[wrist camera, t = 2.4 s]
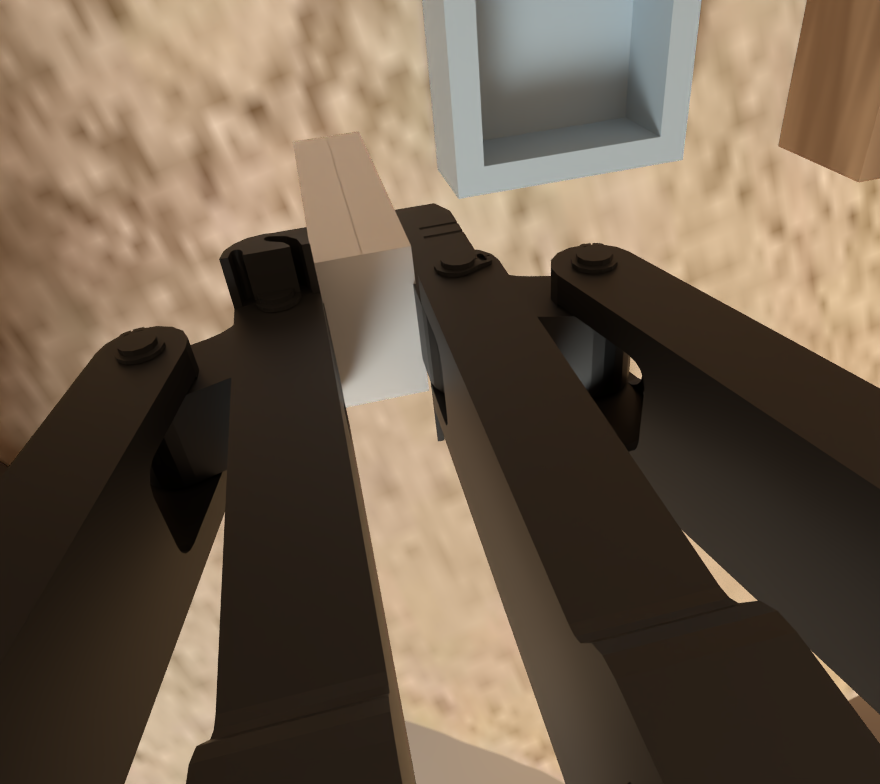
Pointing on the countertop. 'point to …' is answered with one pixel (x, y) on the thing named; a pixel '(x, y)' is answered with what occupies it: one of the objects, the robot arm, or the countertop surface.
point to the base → (837, 89)
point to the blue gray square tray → (557, 88)
